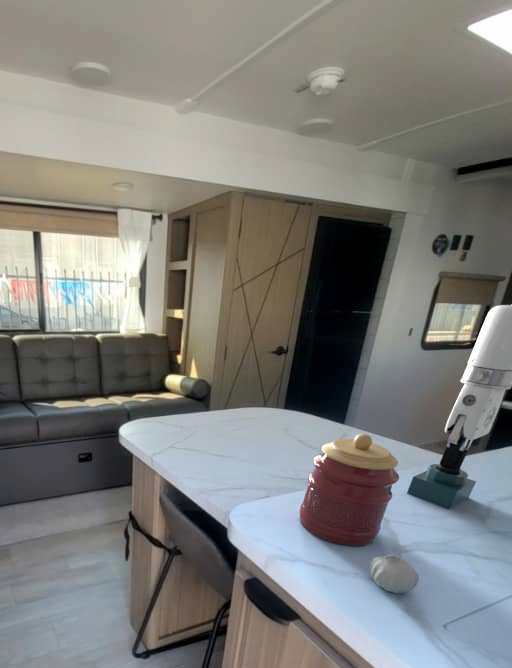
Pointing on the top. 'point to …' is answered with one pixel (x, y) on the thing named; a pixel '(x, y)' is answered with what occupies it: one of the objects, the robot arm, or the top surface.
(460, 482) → the green push button box
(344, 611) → the top surface
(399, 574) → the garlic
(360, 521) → the kitchen canister
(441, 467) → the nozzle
